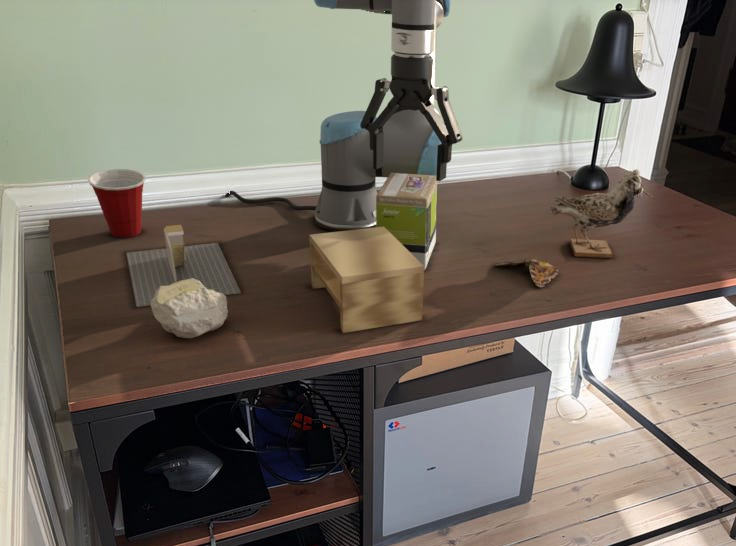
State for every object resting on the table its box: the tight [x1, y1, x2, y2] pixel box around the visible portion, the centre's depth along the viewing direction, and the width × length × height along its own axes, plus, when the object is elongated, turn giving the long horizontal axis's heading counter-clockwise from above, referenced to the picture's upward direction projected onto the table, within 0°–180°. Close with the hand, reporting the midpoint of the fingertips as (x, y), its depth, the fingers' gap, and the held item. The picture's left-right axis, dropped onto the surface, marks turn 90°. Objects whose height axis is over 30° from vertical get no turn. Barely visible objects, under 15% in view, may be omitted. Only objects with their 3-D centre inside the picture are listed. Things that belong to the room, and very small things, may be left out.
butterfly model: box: [496, 258, 560, 288], centre depth 144 cm, size 9×12×3 cm
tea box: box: [376, 172, 438, 271], centre depth 146 cm, size 15×10×15 cm
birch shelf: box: [308, 227, 425, 334], centre depth 127 cm, size 14×19×10 cm
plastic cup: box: [87, 168, 147, 238], centre depth 150 cm, size 11×11×12 cm
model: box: [163, 224, 187, 281], centre depth 136 cm, size 3×11×8 cm, turn 23°
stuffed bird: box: [548, 169, 653, 259], centre depth 151 cm, size 10×20×17 cm, turn 107°
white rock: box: [149, 278, 229, 339], centre depth 117 cm, size 12×8×10 cm
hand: (409, 173), depth 141 cm, fingers open, 13 cm apart
